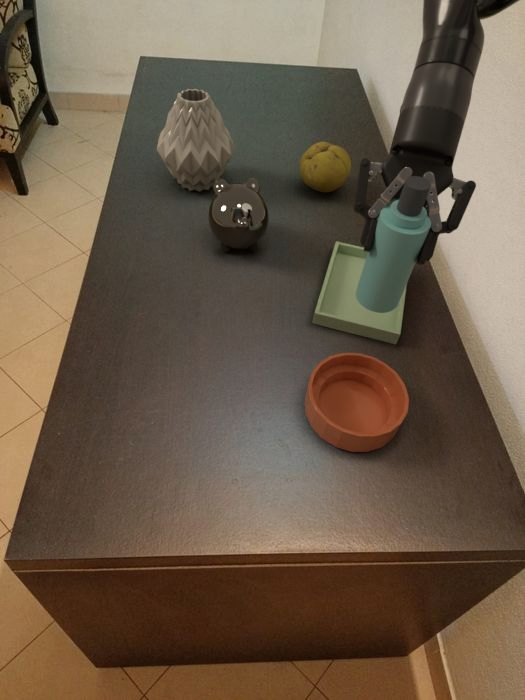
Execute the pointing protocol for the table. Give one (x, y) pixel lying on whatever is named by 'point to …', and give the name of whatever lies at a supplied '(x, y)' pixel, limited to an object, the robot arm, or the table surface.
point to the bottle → (395, 248)
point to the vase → (195, 141)
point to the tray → (353, 299)
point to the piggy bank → (238, 214)
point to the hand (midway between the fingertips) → (393, 256)
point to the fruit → (325, 167)
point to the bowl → (355, 402)
